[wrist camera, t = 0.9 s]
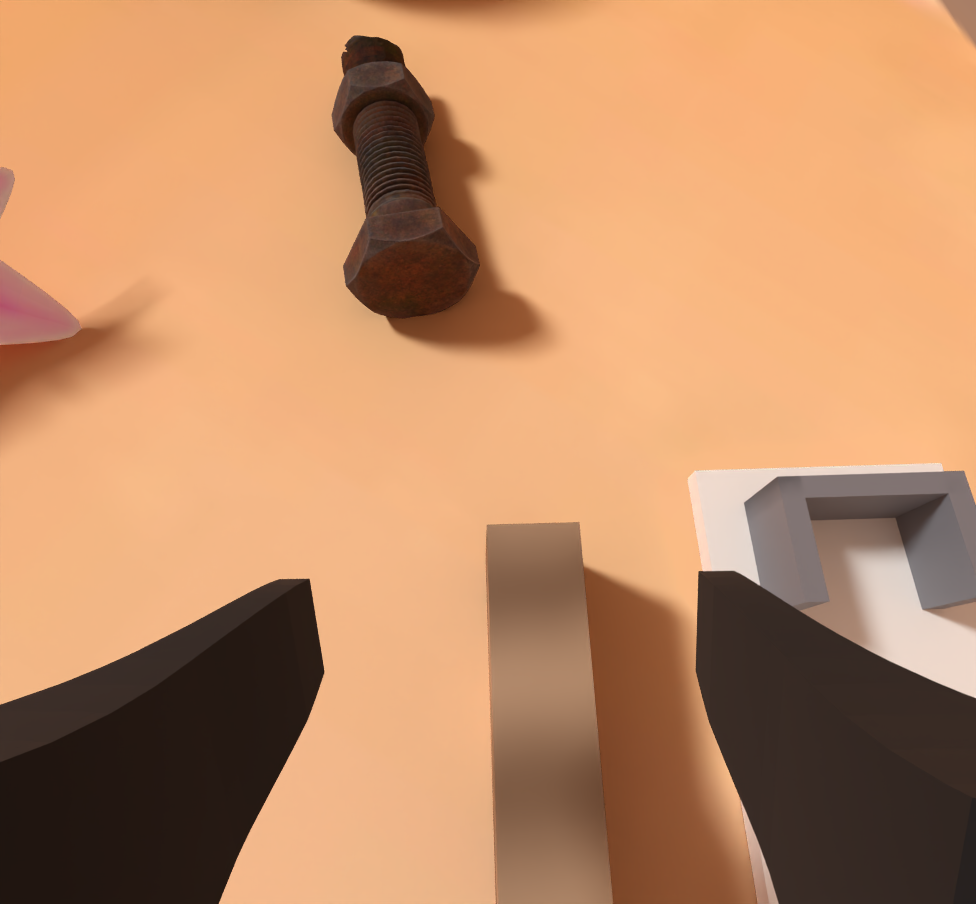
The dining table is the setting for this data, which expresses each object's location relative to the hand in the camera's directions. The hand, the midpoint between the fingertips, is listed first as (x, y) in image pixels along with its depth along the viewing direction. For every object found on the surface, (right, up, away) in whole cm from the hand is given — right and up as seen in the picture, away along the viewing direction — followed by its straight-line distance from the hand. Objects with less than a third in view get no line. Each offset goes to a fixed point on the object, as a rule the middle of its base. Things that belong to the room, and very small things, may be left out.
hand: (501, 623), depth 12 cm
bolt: (-5, +16, +21) cm, 27 cm away
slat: (+1, -8, +10) cm, 14 cm away
